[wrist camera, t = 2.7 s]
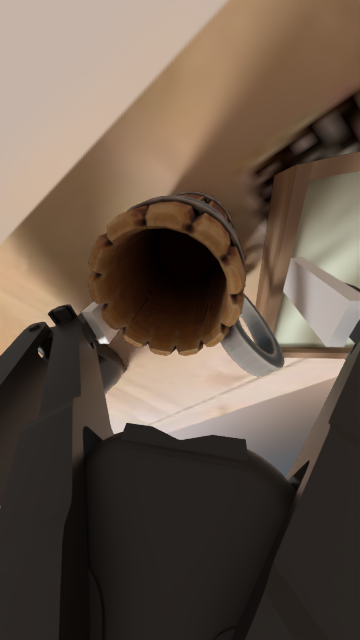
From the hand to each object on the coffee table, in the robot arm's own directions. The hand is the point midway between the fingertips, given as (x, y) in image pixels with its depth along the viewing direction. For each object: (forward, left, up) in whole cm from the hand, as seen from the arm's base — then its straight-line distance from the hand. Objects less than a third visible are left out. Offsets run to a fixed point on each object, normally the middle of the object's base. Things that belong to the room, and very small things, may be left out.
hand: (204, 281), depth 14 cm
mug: (0, 0, -8) cm, 8 cm away
